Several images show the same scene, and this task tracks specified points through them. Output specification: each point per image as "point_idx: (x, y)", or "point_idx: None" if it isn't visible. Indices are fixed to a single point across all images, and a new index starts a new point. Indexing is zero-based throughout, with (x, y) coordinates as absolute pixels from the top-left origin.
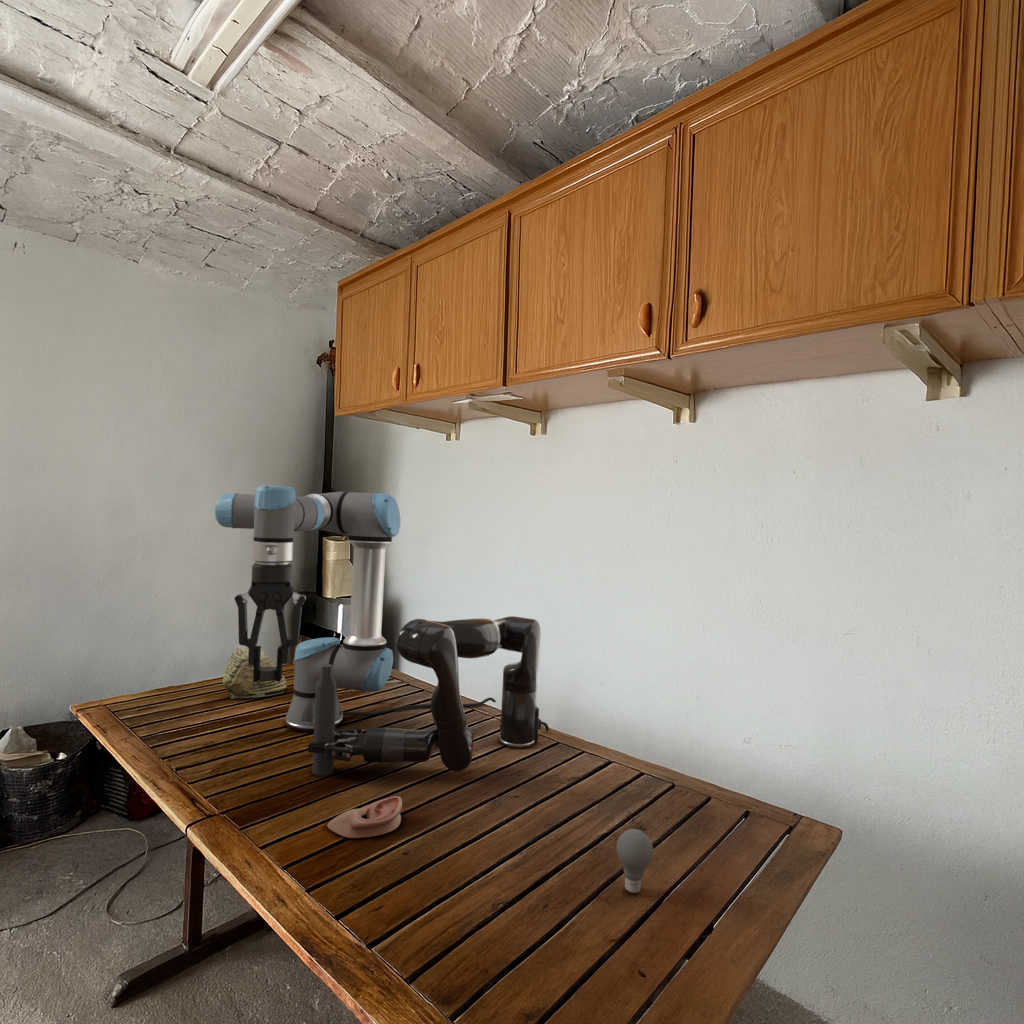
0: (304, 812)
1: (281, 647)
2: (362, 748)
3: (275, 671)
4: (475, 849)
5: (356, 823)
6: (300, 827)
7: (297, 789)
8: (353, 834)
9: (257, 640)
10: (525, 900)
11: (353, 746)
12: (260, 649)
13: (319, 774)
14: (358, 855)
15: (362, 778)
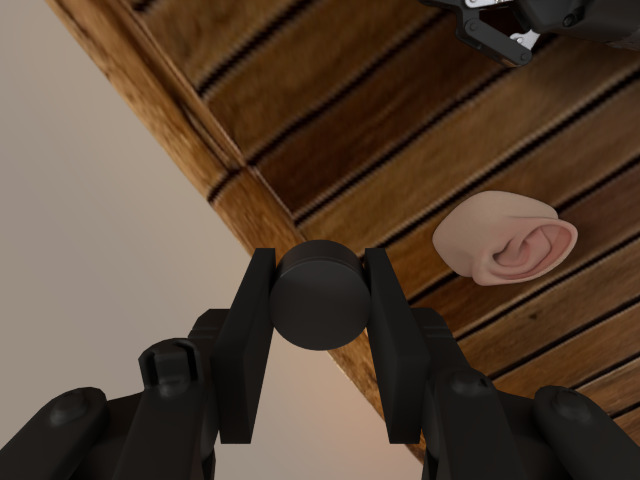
0: (394, 180)
1: (423, 476)
2: (563, 30)
3: (361, 328)
4: (632, 319)
5: (481, 284)
6: (389, 230)
7: (377, 77)
8: (470, 275)
9: (202, 419)
10: (636, 412)
11: (542, 27)
12: (248, 349)
13: (425, 4)
14: (469, 313)
15: (521, 33)
